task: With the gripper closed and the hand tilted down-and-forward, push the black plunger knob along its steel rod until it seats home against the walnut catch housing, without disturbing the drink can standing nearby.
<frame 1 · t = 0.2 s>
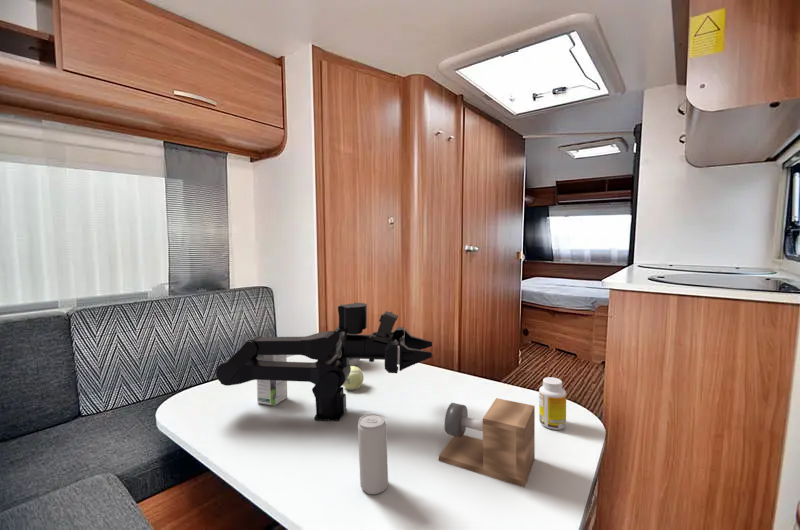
hand: (432, 349, 85), 16 cm above the table, tool horizontal, fingers open, 9 cm apart
mount: (457, 451, 72), on the table
knob: (471, 423, 70), point 7 cm above the table, slide at 0.0 cm
syrup box: (272, 401, 97), on the table
beverage can: (374, 487, 63), on the table
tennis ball: (352, 388, 105), on the table
dark grey ovoid: (347, 365, 123), on the table
supplement bottle: (552, 425, 81), on the table
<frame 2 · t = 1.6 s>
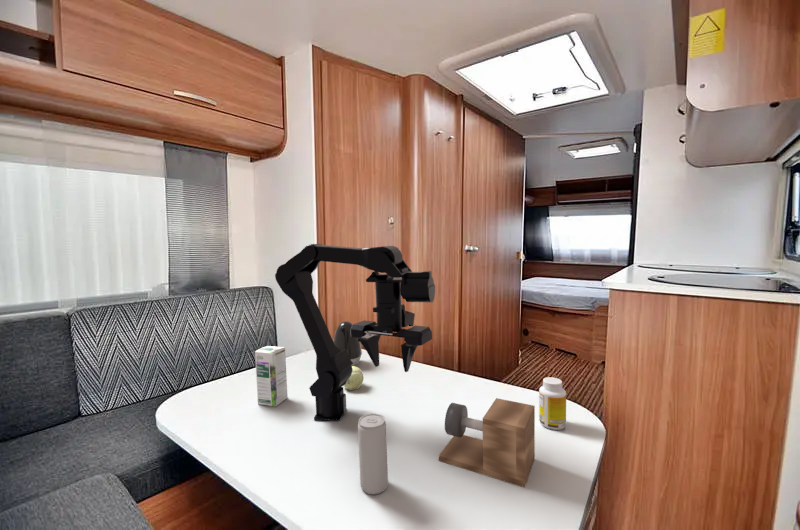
hand: (391, 368, 82), 13 cm above the table, tool pointing down, fingers open, 8 cm apart
nothing on the table moved.
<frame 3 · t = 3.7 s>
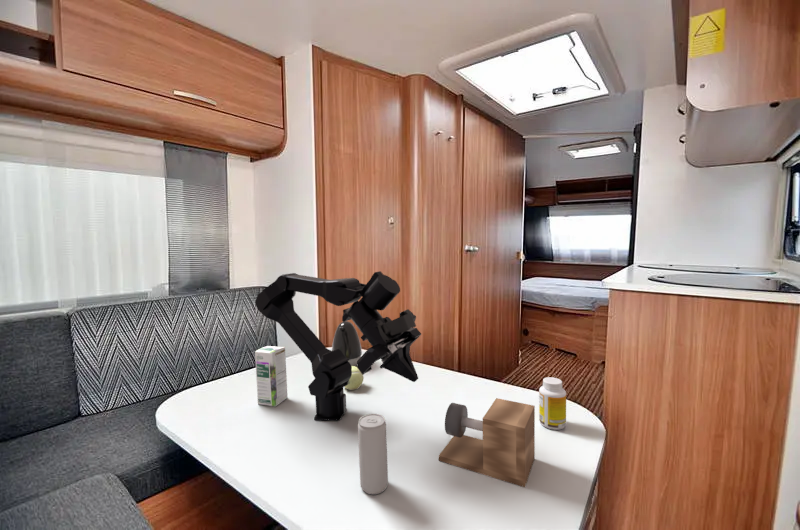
hand: (416, 380, 76), 13 cm above the table, tool tilted 45°, fingers closed
nothing on the table moved.
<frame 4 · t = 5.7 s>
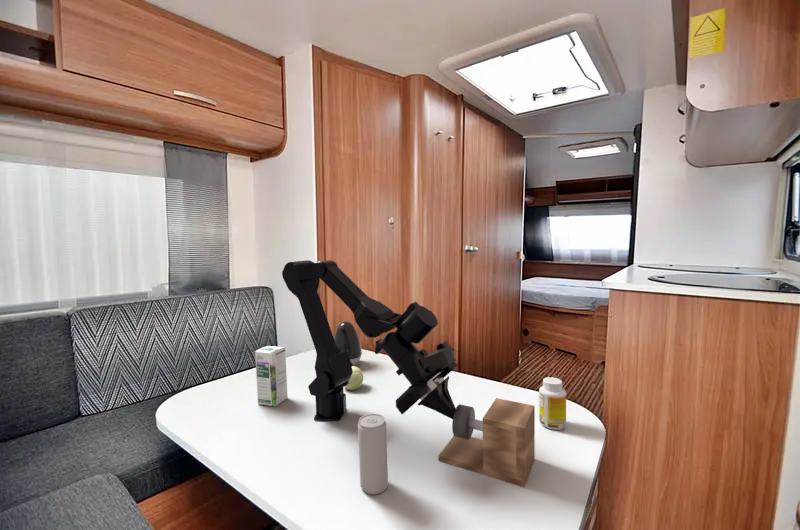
hand: (456, 418, 72), 7 cm above the table, tool tilted 45°, fingers closed, pressing on knob
knob: (478, 425, 69), point 7 cm above the table, slide at 1.6 cm, touching gripper
everything else where it was.
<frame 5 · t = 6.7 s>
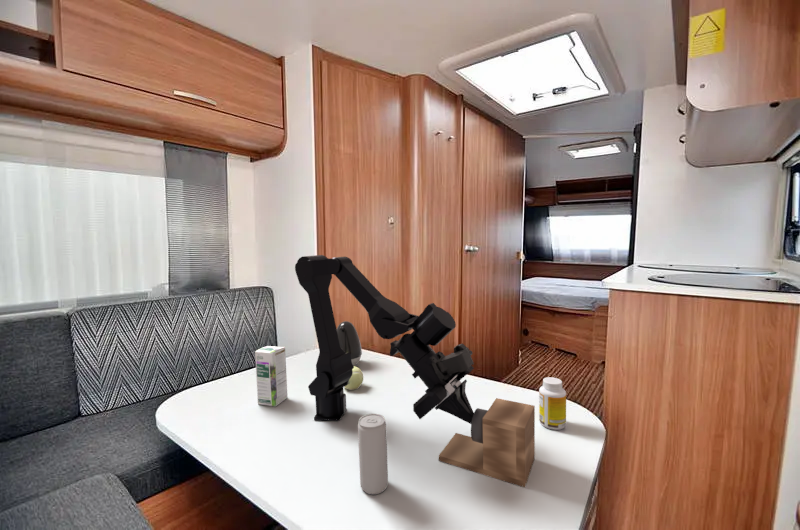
hand: (474, 422, 70), 7 cm above the table, tool tilted 45°, fingers closed, pressing on knob
knob: (497, 429, 67), point 7 cm above the table, slide at 5.2 cm, touching gripper
everything else where it was.
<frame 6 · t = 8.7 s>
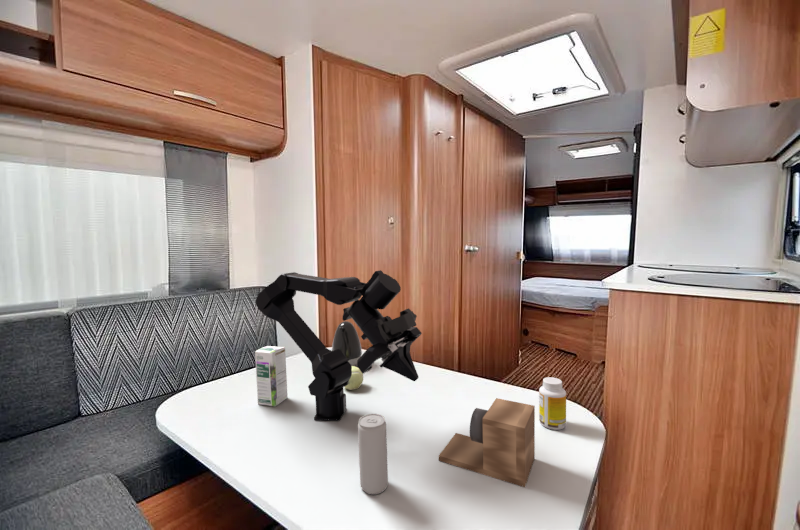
hand: (416, 379, 75), 13 cm above the table, tool tilted 45°, fingers closed
knob: (496, 429, 68), point 7 cm above the table, slide at 5.0 cm
everything else where it was.
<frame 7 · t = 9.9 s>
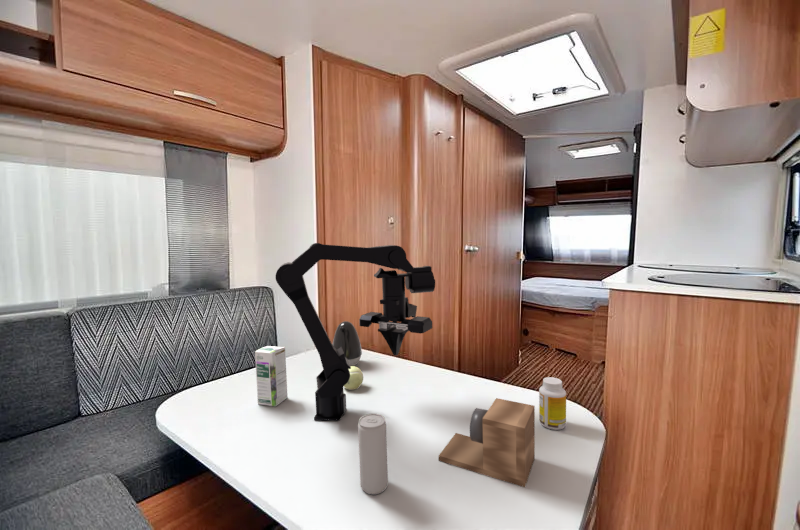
hand: (395, 354, 92), 13 cm above the table, tool pointing down, fingers closed
nothing on the table moved.
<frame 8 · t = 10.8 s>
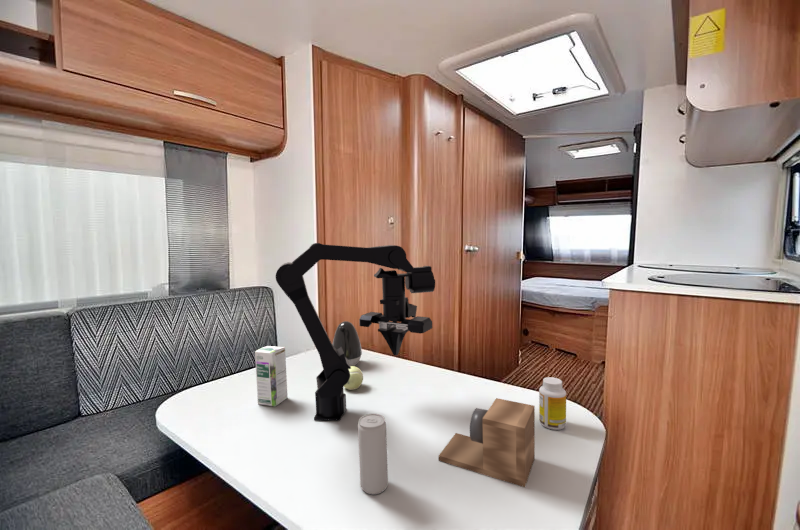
hand: (395, 354, 92), 13 cm above the table, tool pointing down, fingers closed
nothing on the table moved.
at the end: knob slide at 5.0 cm; beverage can moved 0.2 cm from its start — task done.
